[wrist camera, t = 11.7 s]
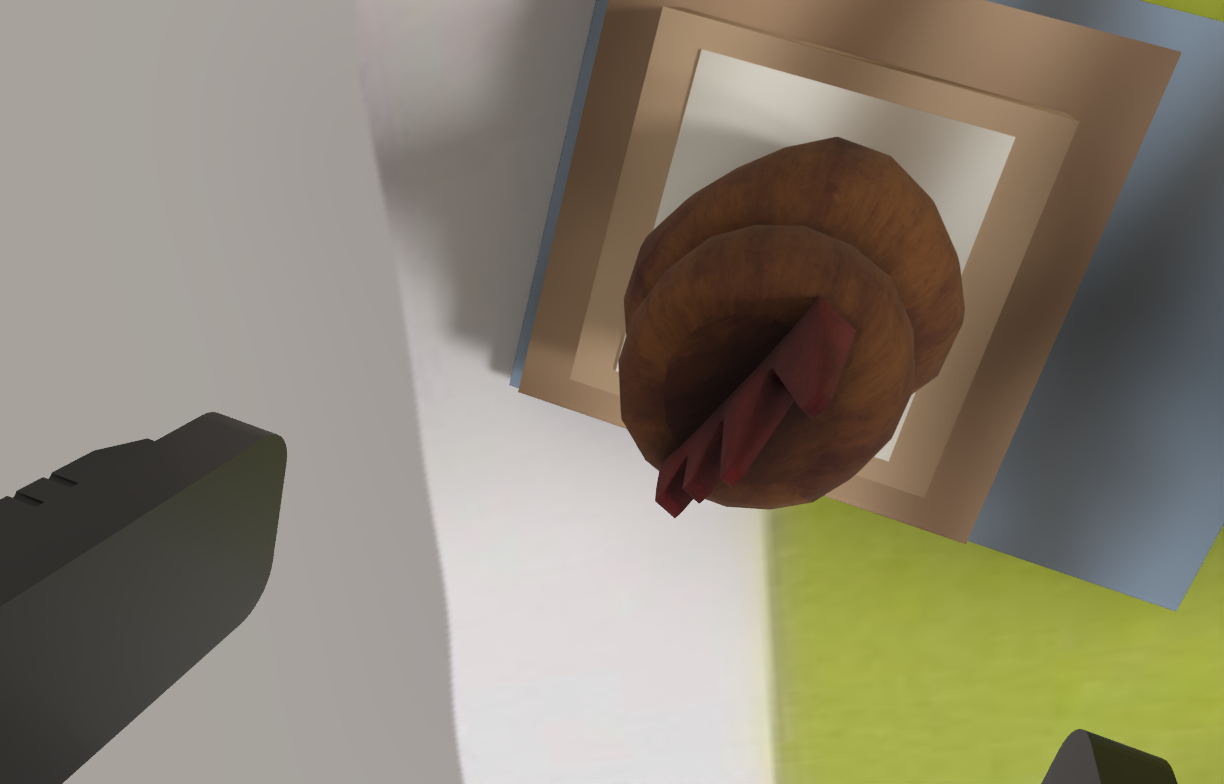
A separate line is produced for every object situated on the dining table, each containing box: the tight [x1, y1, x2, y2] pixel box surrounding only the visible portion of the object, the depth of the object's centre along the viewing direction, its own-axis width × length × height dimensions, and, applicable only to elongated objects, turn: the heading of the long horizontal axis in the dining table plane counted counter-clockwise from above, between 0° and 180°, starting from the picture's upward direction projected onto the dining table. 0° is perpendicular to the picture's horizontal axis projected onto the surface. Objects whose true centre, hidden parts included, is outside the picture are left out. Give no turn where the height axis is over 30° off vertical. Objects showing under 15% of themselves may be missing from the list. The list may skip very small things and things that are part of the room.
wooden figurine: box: [618, 137, 965, 518], centre depth 19 cm, size 7×6×15 cm
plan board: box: [509, 0, 1224, 611], centre depth 29 cm, size 22×16×6 cm
